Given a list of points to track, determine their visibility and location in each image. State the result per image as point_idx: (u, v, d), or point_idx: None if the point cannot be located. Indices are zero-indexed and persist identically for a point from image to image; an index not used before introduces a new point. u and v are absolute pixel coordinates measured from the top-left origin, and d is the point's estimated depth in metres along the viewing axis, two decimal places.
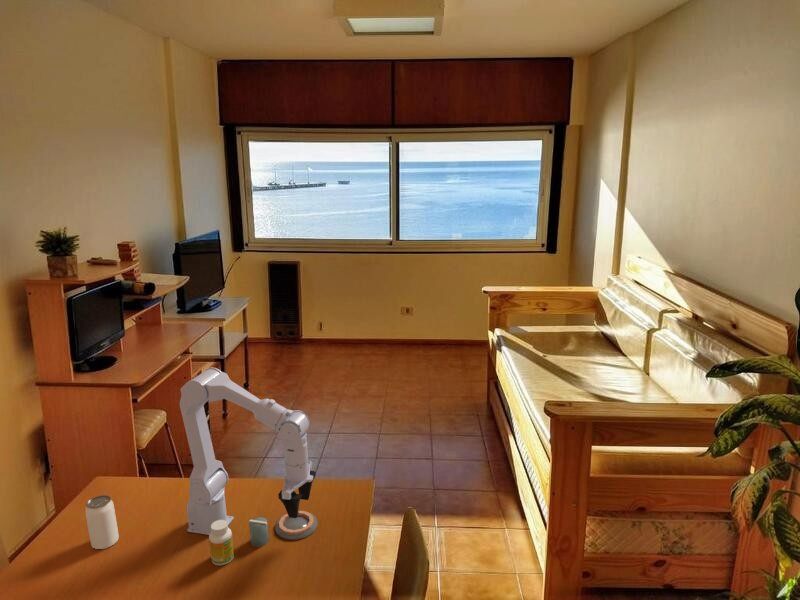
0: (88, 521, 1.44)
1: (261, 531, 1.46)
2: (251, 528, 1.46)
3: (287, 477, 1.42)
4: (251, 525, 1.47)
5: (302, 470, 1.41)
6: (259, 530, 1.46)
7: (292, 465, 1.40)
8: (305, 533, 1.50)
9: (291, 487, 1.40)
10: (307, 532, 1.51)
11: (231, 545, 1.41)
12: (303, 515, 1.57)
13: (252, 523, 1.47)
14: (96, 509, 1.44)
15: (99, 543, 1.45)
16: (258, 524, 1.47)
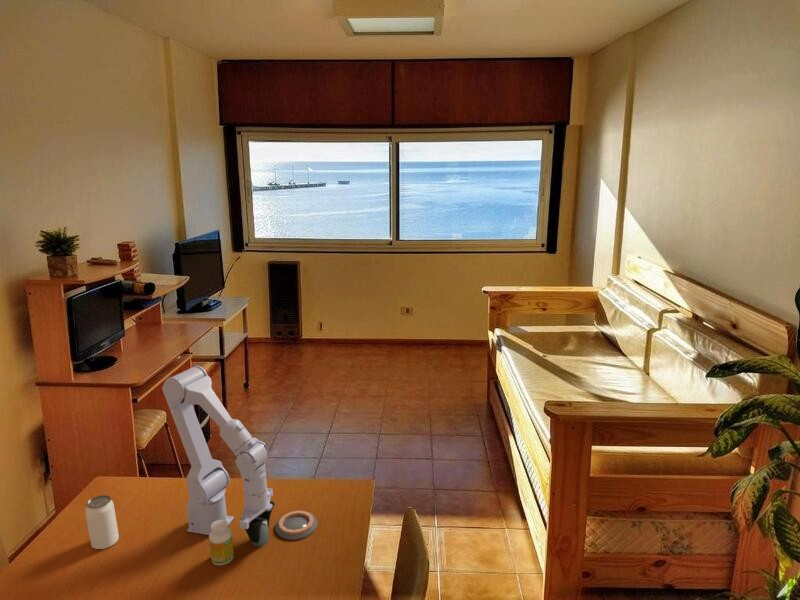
0: (88, 521, 1.44)
1: (261, 531, 1.46)
2: None
3: (246, 506, 1.44)
4: None
5: (260, 499, 1.43)
6: None
7: (248, 494, 1.42)
8: (305, 533, 1.50)
9: (249, 516, 1.42)
10: (307, 532, 1.51)
11: (231, 545, 1.41)
12: (303, 515, 1.57)
13: None
14: (96, 509, 1.44)
15: (99, 543, 1.45)
16: None
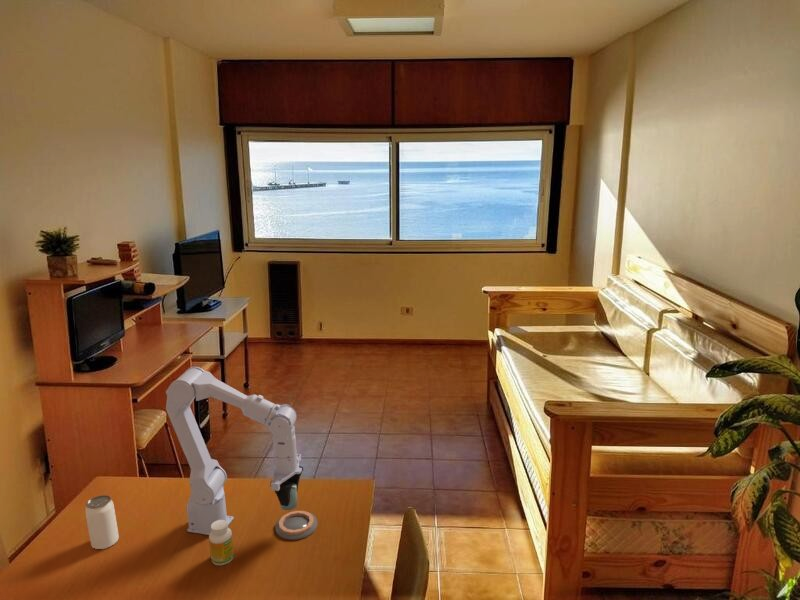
0: (88, 521, 1.44)
1: (291, 495, 1.49)
2: None
3: (276, 469, 1.47)
4: None
5: (290, 462, 1.46)
6: None
7: (283, 458, 1.45)
8: (305, 533, 1.50)
9: (280, 479, 1.44)
10: (307, 532, 1.51)
11: (231, 545, 1.41)
12: (303, 515, 1.57)
13: None
14: (96, 508, 1.44)
15: (99, 543, 1.45)
16: None
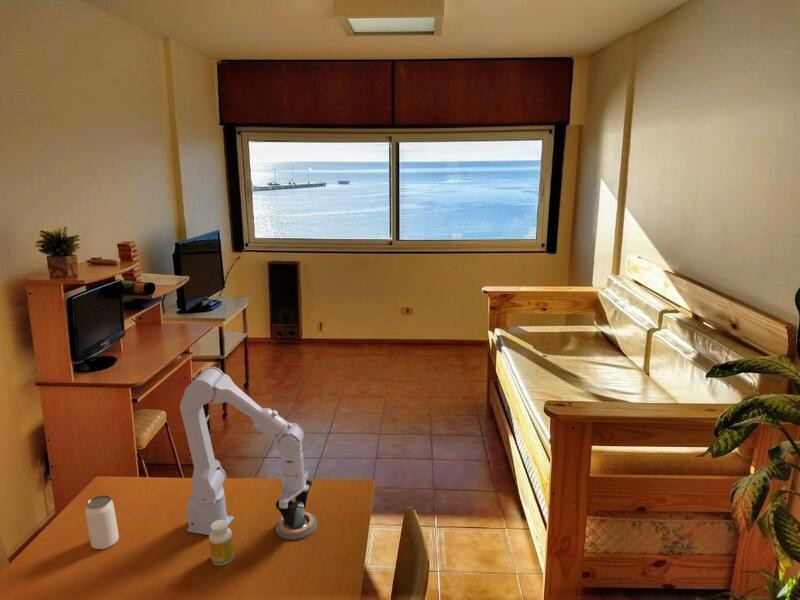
0: (88, 521, 1.44)
1: (298, 514, 1.51)
2: None
3: (284, 487, 1.49)
4: None
5: (298, 480, 1.48)
6: (297, 513, 1.51)
7: (291, 476, 1.47)
8: (305, 533, 1.50)
9: (288, 496, 1.47)
10: (307, 532, 1.51)
11: (231, 545, 1.41)
12: None
13: None
14: (96, 509, 1.44)
15: (99, 543, 1.45)
16: None
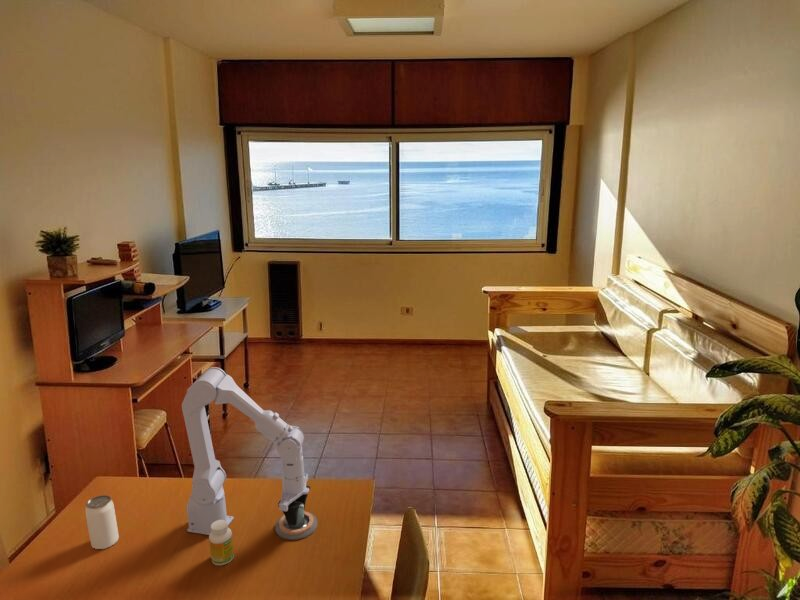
0: (88, 521, 1.44)
1: (298, 514, 1.51)
2: None
3: (284, 490, 1.49)
4: None
5: (298, 483, 1.48)
6: None
7: (291, 478, 1.48)
8: (305, 533, 1.50)
9: (288, 499, 1.47)
10: (307, 532, 1.51)
11: (231, 545, 1.41)
12: None
13: None
14: (96, 509, 1.44)
15: (99, 543, 1.45)
16: None
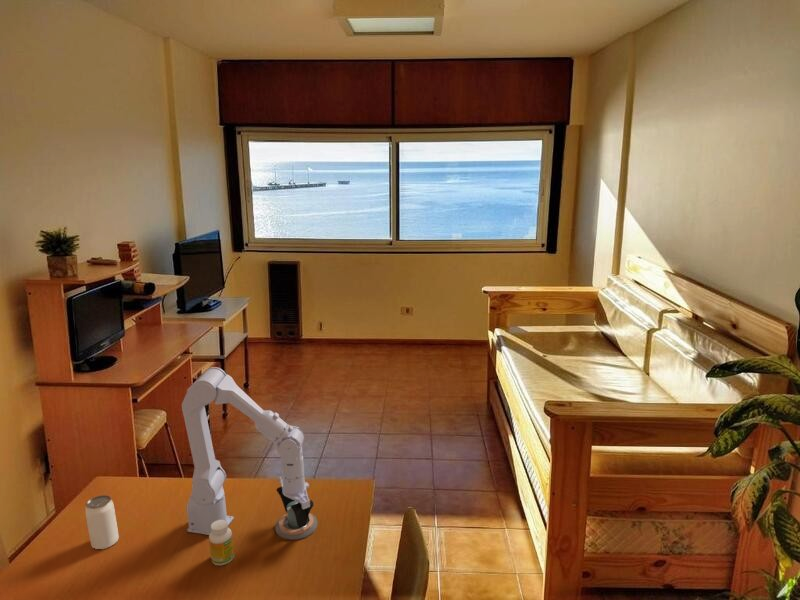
0: (88, 521, 1.44)
1: None
2: None
3: (292, 492, 1.49)
4: None
5: (304, 478, 1.50)
6: None
7: (291, 478, 1.48)
8: (305, 533, 1.50)
9: (303, 497, 1.48)
10: (307, 532, 1.51)
11: (231, 545, 1.41)
12: None
13: None
14: (96, 509, 1.44)
15: (99, 543, 1.45)
16: None
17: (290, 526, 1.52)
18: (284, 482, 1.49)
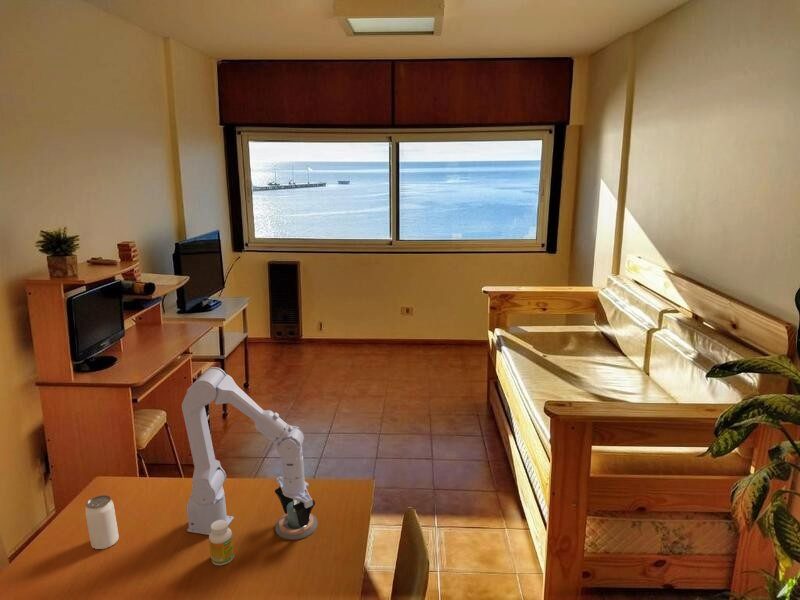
0: (88, 521, 1.44)
1: None
2: None
3: (293, 491, 1.49)
4: None
5: None
6: None
7: (291, 478, 1.48)
8: (305, 533, 1.50)
9: (305, 496, 1.48)
10: (307, 532, 1.51)
11: (231, 545, 1.41)
12: None
13: None
14: (96, 509, 1.44)
15: (99, 543, 1.45)
16: None
17: (297, 527, 1.52)
18: (285, 482, 1.48)
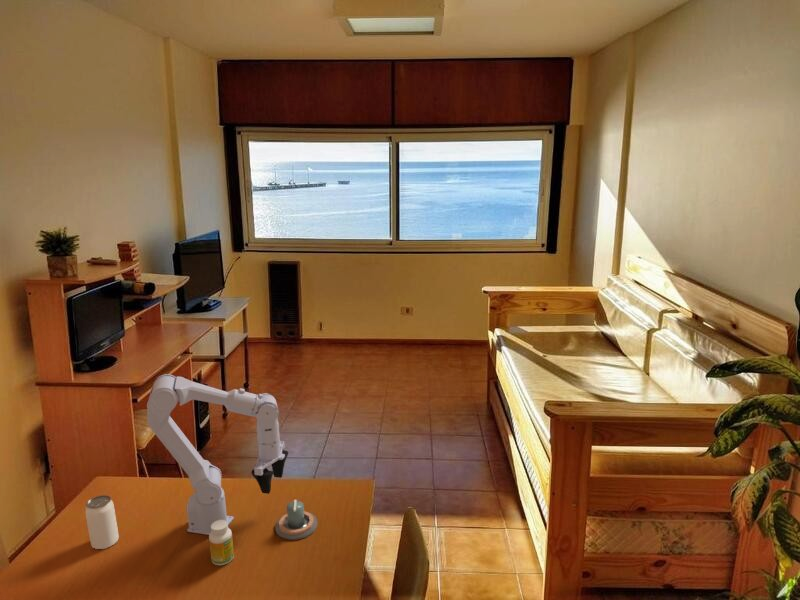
0: (88, 521, 1.44)
1: None
2: (302, 508, 1.52)
3: (260, 455, 1.53)
4: (300, 508, 1.52)
5: (273, 448, 1.52)
6: None
7: (270, 443, 1.51)
8: (305, 533, 1.50)
9: (263, 464, 1.50)
10: (307, 532, 1.51)
11: (231, 545, 1.41)
12: None
13: (297, 508, 1.52)
14: (96, 509, 1.44)
15: (99, 543, 1.45)
16: (297, 504, 1.53)
17: (297, 527, 1.52)
18: None
